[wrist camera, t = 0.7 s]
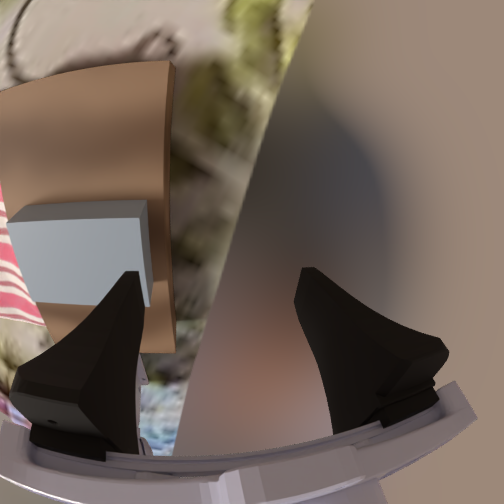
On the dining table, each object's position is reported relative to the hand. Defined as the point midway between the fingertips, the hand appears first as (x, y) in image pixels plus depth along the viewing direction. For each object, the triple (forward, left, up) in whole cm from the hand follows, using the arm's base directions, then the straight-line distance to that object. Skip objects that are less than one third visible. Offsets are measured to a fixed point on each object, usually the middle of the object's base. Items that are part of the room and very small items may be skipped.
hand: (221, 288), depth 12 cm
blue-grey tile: (-1, +8, -6) cm, 10 cm away
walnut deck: (-1, +9, -10) cm, 13 cm away
